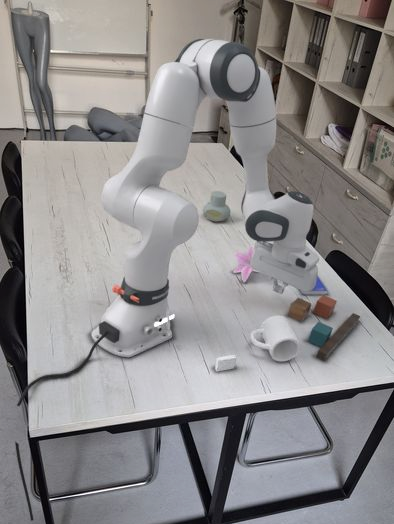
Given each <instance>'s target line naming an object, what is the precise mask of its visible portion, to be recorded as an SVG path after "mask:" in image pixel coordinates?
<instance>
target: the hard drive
mask: <svg viewBox="0 0 394 524" xmlns="http://www.w3.org/2000/svg"><path fill="white" fill-rule="evenodd" d="M300 291H301V293H302V295H327V294H328V289H327V288H326V286H325V285H324V283H323V282H322V280H321V279H320V277H319V276H318V275H317V281H316V285H315V287H314V288H313V289H312V290H311V291H309V292H305V291H302V290H300Z"/></svg>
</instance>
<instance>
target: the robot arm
mask: <svg viewBox="0 0 394 524" xmlns="http://www.w3.org/2000/svg"><path fill="white" fill-rule="evenodd" d="M149 89H150V90H149V93H148V96H147V99H146V103H145V108H144V113H143V117H142V120H141V121H142V122H141V126H140V130H139V133H138V138H137V142H136V145H135V149H134V152H133V154H132V156H131V158H130V160H129V161H128V162H127V164H126V165H125V166H124V168H123V169H122V170H120V172H118V173H117V174H115V175H113V176H111V177H110V178H109V179H107V181H106V182H105V184H103V187H102V190H101V194H100V200H101V205H102V208H103V210H104V211H105V213H107V214H108V215H110V216H111V217H112V218H114V219H115V220H116V221H118V222H119V223H122V224H124V225H126V226H129V227H131V228H133V229H135V230H137V231H139V232H140V234H141V240H138V241H135V242H134V243H132V244H131V245H129V247H128V248H127V249H126V251H125V254H124V276H123V278H122V280H121V284H120V286H119V285H118V284H115V285H113V287H112V289H111V290H112V292H113V293H114V294H117V296H116V297H115V299H114V300H113V301H112V302H111V304H110V305H109V306H108V307H107V309H106V310H105V311H104V312H103V314H102V316H101V319H100V323H99V324H98V326H97V327H95V328H94V329H93V330H92V331H91V338H92V340H93V342H94V343H93V345H92V346H91V348H90V350H89V352H88V354H87V356H86V358H85V359H84V360H83V361H82V362H81V363H80V364H79V365H78V366H77V367H76V368H74V369H72V370H70V371H67V372H62V373H52V374H45V375H41V376H39V377H37V378H35V379H34V380H33V381H31V382H30V383H28V385H27V386H26V387H25V389H23V391H22V393H21V395H20V397H19V400H18V402H17V404H16V406H17V407H20V406H21V405H22V403H23V401H24V399H25V397H26V395H27V393H28V391H29V390H30V388H31V387H32V386H33V385H35V384H38V382H40V381H42V380H45V379H49V378H50V379H51V378H61V377H62V378H63V377H67V376H70V375H72V374H74V373H76V372H78V371H80V370H81V369H82V368H83V367H84V366H85V365H86V364H87V362H88V361H89V360H90V358H91V357H92V355H93V353H94V350H95V349H96V347H97V346H99V347H100V348H102V349H103V350H105V351H106V352H109V353H110V354H113V355H115V356H119V357H121V358H131V357H134V356H136V355H138V354H141V353H142V352H145V351H147V350H149V349H151V348H153V347H155V346H158V345H159V344H162V343H165V342H166V341H169V340H171V339H172V338H173V332H172V330H171V320H174V319H175V314H171V315H170V306H169V301H168V296H169V291H170V280H169V270H170V269H169V268H170V263H171V262H170V261H171V257H172V254H173V252H174V251H175V249H176V248H177V247H178V246H181V245H182V244H185V243H186V242H188V241H189V240H191V239H192V237H193V236H194V235H195V234H196V231H197V229H198V226H199V222H200V221H199V220H200V219H199V218H200V217H199V211H198V207H197V206H196V205H195V204H194V203H193V202H191V201H190V200H189V199H187V198H186V197H184V196H182V195H181V194H179V193H177V192H174V191H171V190H169V189H166V188H164V187H161V186H160V184H161V182H162V179H163V178H164V176H165V174H167V173H168V172H172V171H174V170H177V169H179V168H180V167H182V166H183V164H184V163H186V160H187V159H186V158H187V156H188V153H189V152H188V151H189V149H190V144H191V139H192V135H193V131H194V127H195V122H196V119H197V112H198V110H199V108H200V105H201V103H202V102H203V101H204V100H205V98H209V99H214V100H223V101H224V102H225V103H226V107H227V111H228V121H229V130H230V135H231V139H232V143H233V146H234V149H235V152H236V154H237V155H238V156H240V158H241V161H242V164H243V173H244V183H245V185H244V186H245V190H244V194H243V196H242V200H241V203H240V204H241V205H240V210H241V213H242V216H243V222H244V228H245V232H246V234H247V236H248V237H249V238H250V239H252V240H253V241H255V243H254V246H253V249H254V254H253V256H252V259H251V263H250V265H251V268H252V269H254V270H256V271H259V272H258V273H261V274H263V275H266V276H267V277H269V278H271V279H270V281H271V284H272V286H273V287H272V292H275V293H277V294H279V295H282V294H283V293H284V292H285V288H286V287H288V286H290V287H293V288H296V289H298V290H300V291H301V290H302V291H305V292H309V291H311V290H312V289H313V288H314V287H315V285H316V281H317V276H318V275H319V267H318V265H317V264H318V263H319V261H320V256H319V255H318V254H317V253H315V252H314V251H313V250H312V249H310V247H309V246H307V236H308V234H309V232H310V229H311V225H312V220H313V216H314V210H315V209H314V202H313V201H312V199H311V197H309V196H308V195H306V194H304V193H303V192H300V191H294V190H293V191H292V190H291V191H288V192H286V193H285V194H284V195H282V196H280V197H278V198H276V197H275V195H274V193H273V191H272V190H271V187H270V184H269V175H268V173H269V172H268V155H269V153H271V152H272V150H274V147H275V145H276V139H277V111H276V102H275V95H274V90H273V85H272V81H271V79H270V74H269V73H268V71H267V70H266V69H265V68H264V67H261V66H259V64H258V61H257V58H256V56H255V54H254V53H253V51H252V50H251V49H250V48H249V47H247V46H246V45H244V44H243V43H240V42H238V41H228V40H224V39H221V38H198V39H195V40H192V41H190V42H189V43H187V44H186V45H185V46H184V47H183V48H182V49H181V51H180V52H179V54H178V56H177V58H176V59H175V60H174V61H170V62H166V63H164V64H162V65H160V67H159V68H158V69H157V71H156V73H155V76H154V78H153V81H152V84H151V85H150V88H149ZM271 242H272V243H271ZM279 281H280V282H282V283H281V285H280V284H279ZM302 291H301V292H302ZM14 445H15V452H16V458H17V464H18V469H19V474H20V479H21V481H22V486H23V491H24V494H25V498H26V504H27V507H28V512H29V516H30V521H31V522H33V521H34V514H33V509H32V504H31V500H30V496H29V491H28V486H27V483H26V478H25V475H24V469H23V464H22V460H21V459H22V458H21V453H20V447H19V446H20V445H19V443H18V442H17V441H14Z"/></svg>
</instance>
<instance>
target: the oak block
mask: <svg viewBox="0 0 394 524" xmlns="http://www.w3.org/2000/svg"><path fill="white" fill-rule="evenodd" d="M311 307H312V302H309V301H308V300H305V299H303V298H300V297H297V298H296V299H295V300H293V301H292V302H291V303H290V307H289V310H288V313H287V316H288V317H290V318H292V319H294V320H296V321H298V322H300V323H302V322H303V321H304V320H305V319H306V318H307V317H308V316H309V313H310V310H311Z"/></svg>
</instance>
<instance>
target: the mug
mask: <svg viewBox="0 0 394 524" xmlns="http://www.w3.org/2000/svg"><path fill="white" fill-rule="evenodd" d="M256 335H257V336H258V335H261V336H262V339H263V341H264V342H261V341H259V340H257V339H256V337H255V336H256ZM249 339H250V341H251V343H252V344H253V345H254V346H256V347H257V348H259V349H262V350H267V351H268V352H269V355H270V357H271V358H272V359H273V360H274V361H277V362H287V361H290V360H293V359H294V358H295V357H296V356H298V354H299V353H300V351H301V343H300V341H299V339H298V337H297V335H296V333H295V331H294V329H293V327H292V325H291V324H290V322H289V319H287V318H286V317H285V316H283V315H273V316H270V317H268V318H267V319H265V320H264V321H263V323H262V324H261V326H260V328H257V329H254V330H252V331H251V332H250V334H249Z"/></svg>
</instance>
